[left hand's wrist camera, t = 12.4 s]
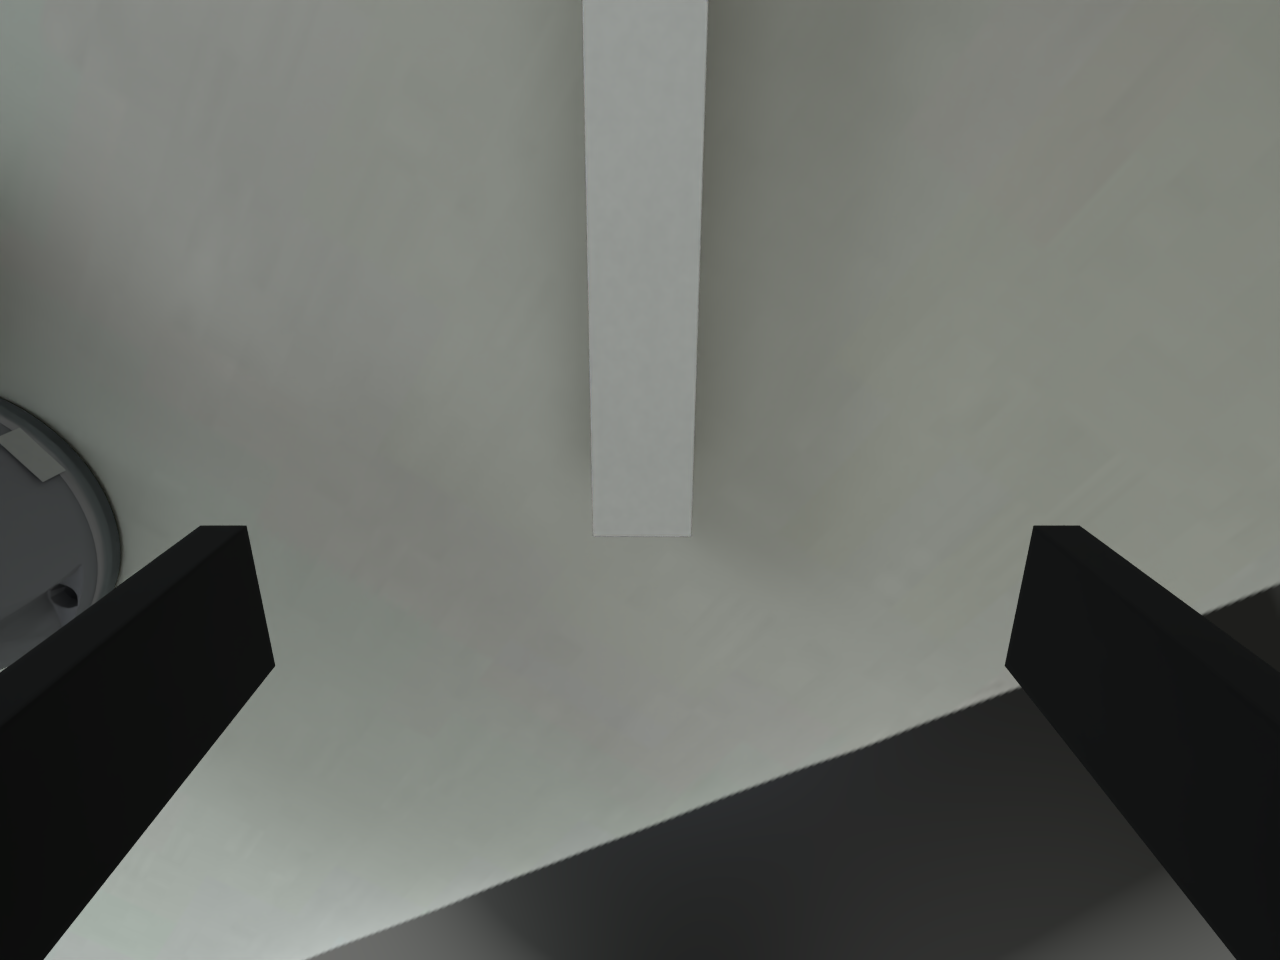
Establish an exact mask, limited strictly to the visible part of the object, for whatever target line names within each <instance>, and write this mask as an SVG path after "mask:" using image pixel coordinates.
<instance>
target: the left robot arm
mask: <svg viewBox="0 0 1280 960" xmlns="http://www.w3.org/2000/svg"><path fill="white" fill-rule="evenodd" d="M119 566H120V542H119V535H118V530H117V526H116V521H115V518H114V515H113V512H112V509H111V507H110V504H109V502H108V500H107V498H106V496H105V494H104V492H103V490H102V488H101V487H100V485H99V483H98V481H97V480H96V478H95V477H94V475H93V474H92V472H91V471H90V469H89V468H88V467H87V465H86V464H85V463H84V462H83V460H82V459H81V458H80V457H79V456H78V454H77V453H76V452H75V451H74V450H73V449H72V448H71V447H70V446H69V445H68V444H67V443H66V442H65V441H64V440H63V439H62V438H61V437H60V436H58V435H57V434H56V433H55V432H54V431H53V430H51V429H50V428H49V427H48V426H46V425H45V424H44V423H42V422H41V421H40V420H38V419H37V418H35V417H34V416H32V415H31V414H29V413H28V412H26V411H24V410H23V409H21V408H19V407H17V406H16V405H14V404H12V403H10V402H8V401H6V400H4V399H1V398H0V669H3V668H6V667H7V668H6V669H4V670H3V671H2V672H0V960H44V958H45V957H46V956H47V955H48V953H49V952H50V951H51V949H52V948H53V947H54V946H55V944H56V943H57V942H58V941H59V939H60V938H61V937H62V936H63V934H64V933H65V932H66V930H67V929H68V928H69V927H70V925H71V924H72V923H73V922H74V920H75V919H76V918H77V916H78V915H79V914H80V913H81V911H82V910H83V909H84V908H85V906H86V905H87V904H88V903H89V901H90V900H91V899H92V897H93V896H94V895H95V894H96V892H97V891H98V890H99V889H100V887H101V886H102V885H103V884H104V882H105V881H106V880H107V878H108V877H109V876H110V875H111V873H112V872H113V871H114V870H115V868H116V867H117V866H118V865H119V863H120V862H121V861H122V859H123V858H124V857H125V856H126V854H127V853H128V852H129V851H130V849H131V848H132V847H133V845H134V844H135V843H136V842H137V840H138V839H139V838H140V837H141V835H142V834H143V833H144V832H145V830H146V829H147V828H148V826H149V825H150V824H151V823H152V821H153V820H154V819H155V818H156V816H157V815H158V814H159V813H160V811H161V810H162V809H163V807H164V806H165V805H166V804H167V802H168V801H169V800H170V799H171V797H172V796H173V795H174V793H175V792H176V791H177V790H178V788H179V787H180V786H181V785H182V783H183V782H184V781H185V780H186V778H187V777H188V776H189V774H190V773H191V772H192V771H193V769H194V768H195V767H196V766H197V764H198V763H199V762H200V761H201V759H202V758H203V757H204V755H205V754H206V753H207V752H208V750H209V749H210V748H211V747H212V745H213V744H214V743H215V741H216V740H217V739H218V738H219V736H220V735H221V734H222V733H223V731H224V730H225V729H226V728H227V726H228V725H229V724H230V722H231V721H232V720H233V719H234V717H235V716H236V715H237V714H238V712H239V711H240V710H241V709H242V707H243V706H244V705H245V703H246V702H247V701H248V700H249V698H250V697H251V696H252V695H253V693H254V692H255V691H256V689H257V688H258V687H259V686H260V684H261V683H262V682H263V681H264V679H265V678H266V677H267V676H268V674H269V673H270V672H271V670H272V669H273V668H274V667H275V662H274V658H273V653H272V648H271V643H270V638H269V633H268V628H267V623H266V619H265V614H264V609H263V604H262V599H261V594H260V589H259V584H258V580H257V575H256V570H255V565H254V560H253V555H252V550H251V545H250V541H249V536H248V531H247V526H199V527H198V528H197V529H195V530H194V531H193V532H191V533H190V534H188V535H187V536H186V537H184V538H183V539H182V540H180V541H179V542H178V543H176V544H175V545H173V546H172V547H171V548H169V549H168V550H167V551H165V552H164V553H163V554H161V555H160V556H158V557H157V558H156V559H154V560H153V561H152V562H150V563H149V564H148V565H146V566H145V567H143V568H142V569H141V570H139V571H138V572H137V573H135V574H134V575H133V576H131V577H130V578H128V579H127V580H126V581H124V582H123V583H122V584H120V585H119V586H118V587H116V588H115V589H114V587H115V584H116V581H117V577H118V573H119ZM1005 667H1006V668H1007V669H1008V670H1009V672H1010V673H1011V674H1012V676H1013V677H1014V678H1015V679H1016V681H1017V682H1018V683H1019V684H1020V686H1021V687H1022V688H1023V689H1024V691H1025V692H1026V693H1027V695H1028V696H1029V697H1030V698H1031V700H1032V701H1033V702H1034V703H1035V705H1036V706H1037V707H1038V708H1039V710H1040V711H1041V712H1042V714H1043V715H1044V716H1045V717H1046V719H1047V720H1048V721H1049V722H1050V724H1051V725H1052V726H1053V727H1054V729H1055V730H1056V731H1057V733H1058V734H1059V735H1060V736H1061V738H1062V739H1063V740H1064V741H1065V743H1066V744H1067V745H1068V747H1069V748H1070V749H1071V750H1072V752H1073V753H1074V754H1075V755H1076V757H1077V758H1078V759H1079V761H1080V762H1081V763H1082V764H1083V766H1084V767H1085V768H1086V769H1087V771H1088V772H1089V773H1090V774H1091V776H1092V777H1093V778H1094V780H1095V781H1096V782H1097V783H1098V785H1099V786H1100V787H1101V788H1102V790H1103V791H1104V792H1105V793H1106V795H1107V796H1108V797H1109V799H1110V800H1111V801H1112V802H1113V804H1114V805H1115V806H1116V807H1117V809H1118V810H1119V811H1120V812H1121V814H1122V815H1123V816H1124V818H1125V819H1126V820H1127V821H1128V823H1129V824H1130V825H1131V826H1132V828H1133V829H1134V830H1135V832H1136V833H1137V834H1138V835H1139V837H1140V838H1141V839H1142V840H1143V842H1144V843H1145V844H1146V845H1147V847H1148V848H1149V849H1150V851H1151V852H1152V853H1153V854H1154V856H1155V857H1156V858H1157V859H1158V861H1159V862H1160V863H1161V865H1162V866H1163V867H1164V868H1165V869H1166V871H1167V872H1168V873H1169V875H1170V876H1171V877H1172V878H1173V880H1174V881H1175V882H1176V883H1177V885H1178V886H1179V887H1180V889H1181V890H1182V891H1183V892H1184V894H1185V895H1186V896H1187V897H1188V899H1189V900H1190V901H1191V903H1192V904H1193V905H1194V906H1195V908H1196V909H1197V910H1198V911H1199V913H1200V914H1201V915H1202V916H1203V918H1204V919H1205V920H1206V921H1207V923H1208V924H1209V925H1210V927H1211V928H1212V929H1213V930H1214V932H1215V933H1216V934H1217V936H1218V937H1219V938H1220V939H1221V940H1222V942H1223V943H1224V944H1225V946H1226V947H1227V948H1228V949H1229V951H1230V952H1231V953H1232V955H1233V956H1234V957H1235V958H1236V960H1280V672H1278V671H1277V670H1276V669H1274V668H1273V667H1271V666H1270V665H1269V664H1267V663H1266V662H1265V661H1263V660H1262V659H1260V658H1259V657H1258V656H1256V655H1255V654H1254V653H1252V652H1251V651H1250V650H1248V649H1247V648H1246V647H1244V646H1243V645H1241V644H1240V643H1239V642H1237V641H1236V640H1235V639H1233V638H1232V637H1231V636H1229V635H1228V634H1226V633H1225V632H1224V631H1222V630H1221V629H1220V628H1218V627H1217V626H1215V625H1214V624H1213V623H1211V622H1210V621H1209V620H1207V619H1206V618H1205V617H1203V616H1202V615H1201V614H1199V613H1198V612H1197V611H1195V610H1194V609H1192V608H1191V607H1190V606H1188V605H1187V604H1186V603H1184V602H1183V601H1182V600H1180V599H1179V598H1177V597H1176V596H1175V595H1173V594H1172V593H1171V592H1169V591H1168V590H1167V589H1165V588H1164V587H1162V586H1161V585H1160V584H1158V583H1157V582H1156V581H1154V580H1153V579H1152V578H1150V577H1149V576H1147V575H1146V574H1145V573H1143V572H1142V571H1141V570H1139V569H1138V568H1137V567H1135V566H1134V565H1132V564H1131V563H1130V562H1128V561H1127V560H1126V559H1124V558H1123V557H1122V556H1120V555H1119V554H1117V553H1116V552H1115V551H1113V550H1112V549H1111V548H1109V547H1108V546H1107V545H1105V544H1104V543H1102V542H1101V541H1100V540H1098V539H1097V538H1096V537H1094V536H1093V535H1092V534H1090V533H1089V532H1087V531H1086V530H1085V529H1083V528H1082V527H1081V526H1033V531H1032V536H1031V541H1030V545H1029V550H1028V555H1027V560H1026V565H1025V570H1024V575H1023V580H1022V584H1021V589H1020V594H1019V599H1018V604H1017V609H1016V614H1015V619H1014V623H1013V628H1012V633H1011V638H1010V643H1009V648H1008V653H1007V658H1006V662H1005Z"/></svg>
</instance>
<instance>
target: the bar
mask: <svg viewBox="0 0 1280 960" xmlns="http://www.w3.org/2000/svg"><path fill="white" fill-rule="evenodd" d="M708 3H709V0H582V21H583V71H584V122H585V173H586V224H587V275H588V326H589V377H590V428H591V478H592V529H593V536H617V537H691V533H692V502H693V471H694V440H695V408H696V377H697V346H698V315H699V284H700V252H701V221H702V190H703V159H704V128H705V97H706V65H707V34H708Z"/></svg>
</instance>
